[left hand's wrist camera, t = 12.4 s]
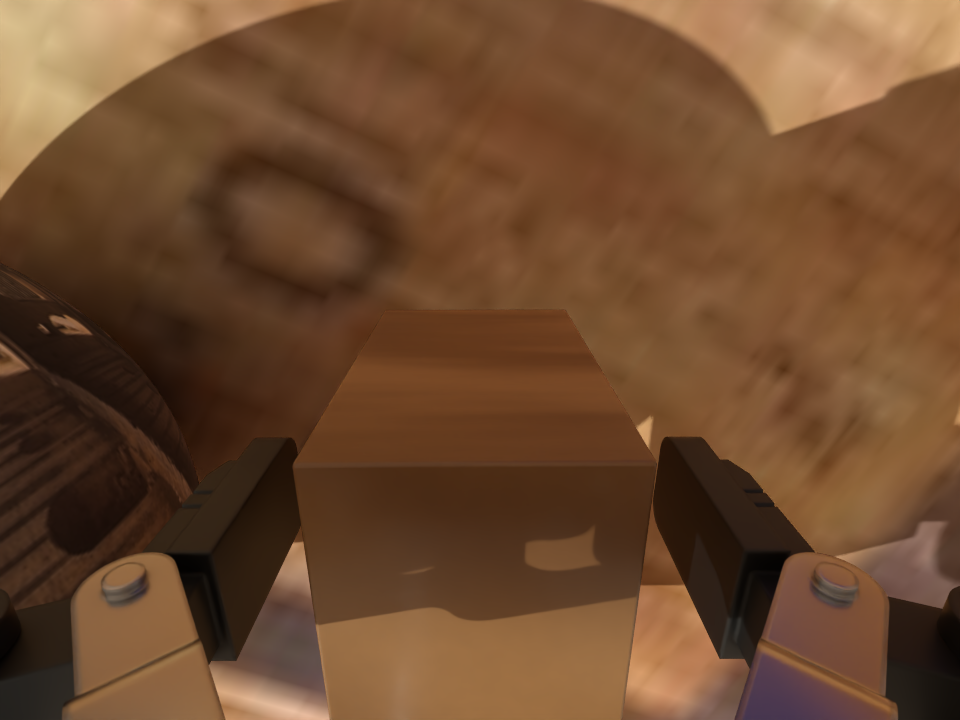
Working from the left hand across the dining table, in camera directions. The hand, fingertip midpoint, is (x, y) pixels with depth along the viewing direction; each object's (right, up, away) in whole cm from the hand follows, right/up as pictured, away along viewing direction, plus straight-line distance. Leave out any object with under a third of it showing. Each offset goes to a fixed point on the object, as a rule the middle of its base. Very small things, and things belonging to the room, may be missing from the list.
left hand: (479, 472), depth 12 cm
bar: (0, -7, +8) cm, 11 cm away
